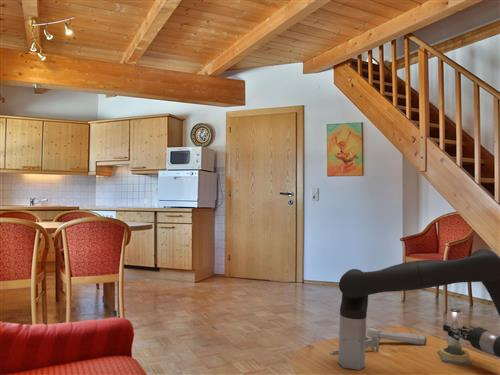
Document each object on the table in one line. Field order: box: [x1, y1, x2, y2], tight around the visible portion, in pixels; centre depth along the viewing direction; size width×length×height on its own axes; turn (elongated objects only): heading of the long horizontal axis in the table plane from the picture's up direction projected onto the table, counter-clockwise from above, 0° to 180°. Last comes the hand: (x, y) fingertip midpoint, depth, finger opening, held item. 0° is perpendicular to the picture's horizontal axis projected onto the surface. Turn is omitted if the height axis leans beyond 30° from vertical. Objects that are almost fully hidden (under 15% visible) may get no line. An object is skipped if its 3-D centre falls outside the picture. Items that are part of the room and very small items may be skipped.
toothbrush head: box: [366, 327, 428, 346], centre depth 168 cm, size 5×7×25 cm
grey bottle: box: [446, 307, 464, 355], centre depth 154 cm, size 5×5×17 cm
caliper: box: [329, 335, 380, 356], centre depth 157 cm, size 20×1×6 cm, turn 105°
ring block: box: [437, 345, 473, 367], centre depth 154 cm, size 10×10×3 cm
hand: (449, 326), depth 157 cm, fingers closed on grey bottle, 5 cm apart
